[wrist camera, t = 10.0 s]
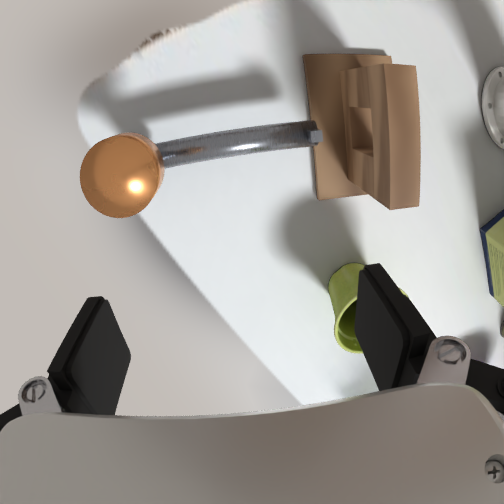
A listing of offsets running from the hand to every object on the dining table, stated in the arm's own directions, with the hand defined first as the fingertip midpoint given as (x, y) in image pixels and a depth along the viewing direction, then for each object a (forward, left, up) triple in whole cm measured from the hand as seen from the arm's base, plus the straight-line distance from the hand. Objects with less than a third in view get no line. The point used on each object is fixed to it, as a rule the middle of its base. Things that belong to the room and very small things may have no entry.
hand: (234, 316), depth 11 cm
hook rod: (+1, -3, -23) cm, 23 cm away
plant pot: (-13, +17, -25) cm, 33 cm away
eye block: (-14, -3, -25) cm, 29 cm away
